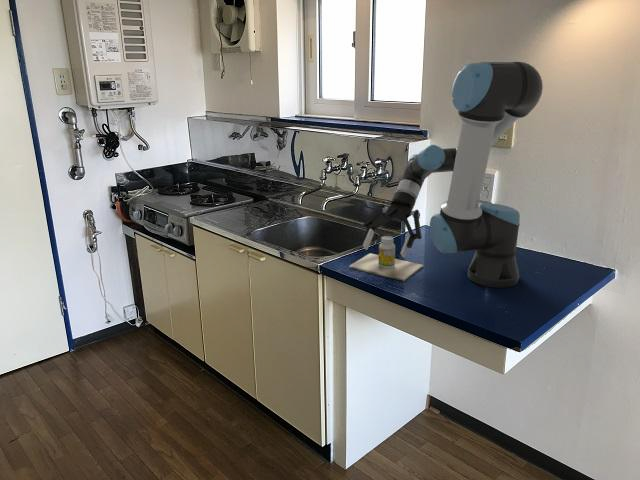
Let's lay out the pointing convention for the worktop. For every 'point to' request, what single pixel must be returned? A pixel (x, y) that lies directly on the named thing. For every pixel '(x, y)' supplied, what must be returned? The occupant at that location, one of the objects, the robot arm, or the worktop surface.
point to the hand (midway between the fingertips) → (383, 251)
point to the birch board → (399, 271)
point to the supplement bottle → (386, 252)
